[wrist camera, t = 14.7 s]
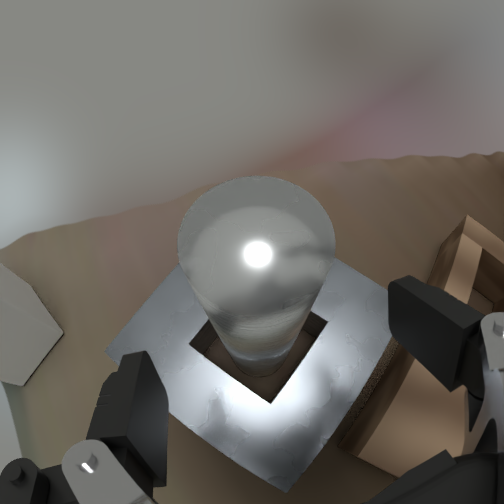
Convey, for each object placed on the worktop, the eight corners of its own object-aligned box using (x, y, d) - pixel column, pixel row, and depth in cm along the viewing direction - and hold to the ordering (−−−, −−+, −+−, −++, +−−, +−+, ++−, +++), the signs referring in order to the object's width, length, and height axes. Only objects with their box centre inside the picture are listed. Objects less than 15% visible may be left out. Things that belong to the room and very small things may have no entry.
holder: (240, 231, 27) (236, 199, 23) (384, 322, 23) (407, 303, 19) (130, 362, 22) (104, 351, 18) (281, 476, 17) (286, 493, 14)
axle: (252, 313, 23) (241, 156, 9) (297, 343, 22) (361, 221, 8) (220, 355, 22) (146, 252, 8) (265, 387, 21) (276, 348, 7)
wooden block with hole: (441, 244, 26) (467, 214, 21) (512, 296, 23) (542, 275, 18) (337, 446, 18) (357, 456, 14) (432, 493, 15) (465, 504, 11)
